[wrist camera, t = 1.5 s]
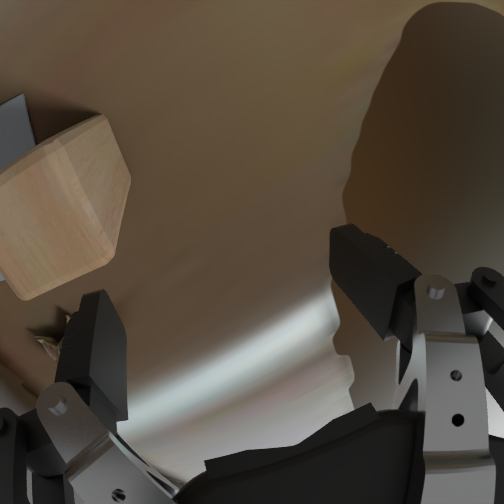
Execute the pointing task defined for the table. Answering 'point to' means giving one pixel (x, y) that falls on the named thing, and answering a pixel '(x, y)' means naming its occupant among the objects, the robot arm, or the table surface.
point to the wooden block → (62, 208)
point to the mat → (14, 132)
